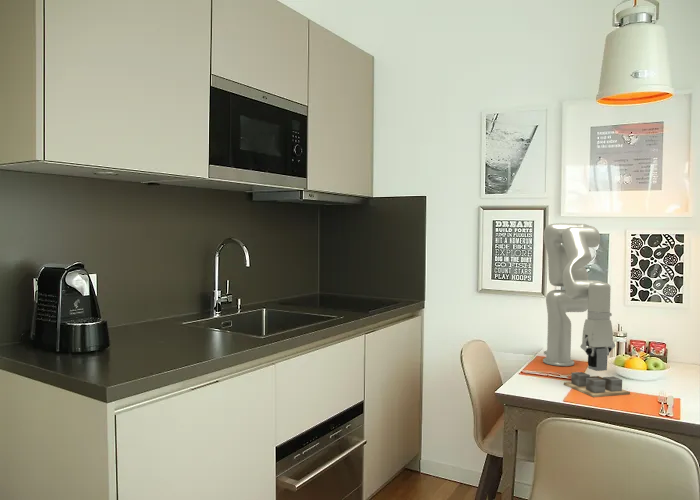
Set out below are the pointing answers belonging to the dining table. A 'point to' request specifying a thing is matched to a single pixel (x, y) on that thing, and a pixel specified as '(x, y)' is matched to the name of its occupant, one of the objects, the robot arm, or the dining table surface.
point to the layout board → (596, 385)
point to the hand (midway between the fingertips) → (597, 365)
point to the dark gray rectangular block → (600, 359)
